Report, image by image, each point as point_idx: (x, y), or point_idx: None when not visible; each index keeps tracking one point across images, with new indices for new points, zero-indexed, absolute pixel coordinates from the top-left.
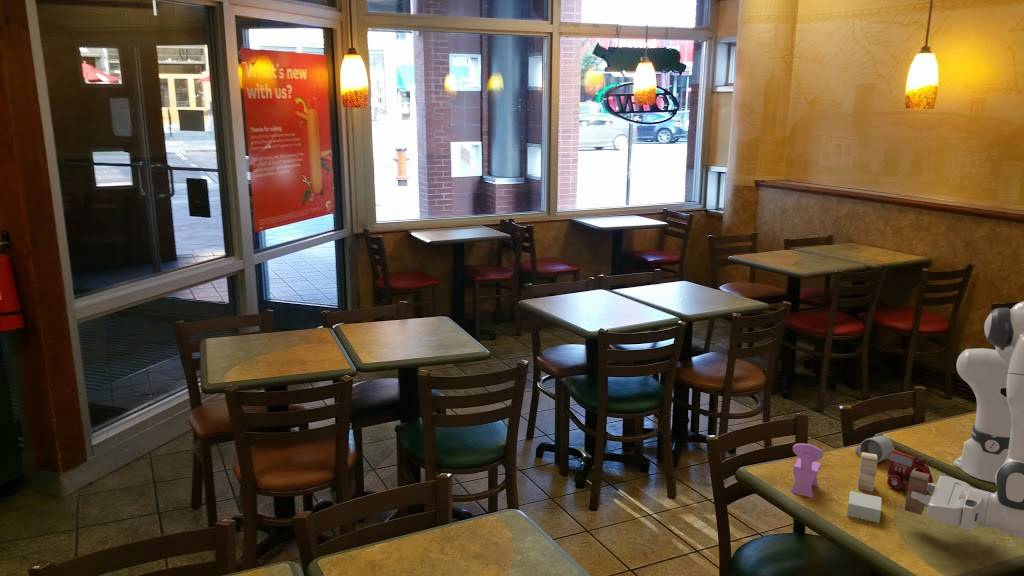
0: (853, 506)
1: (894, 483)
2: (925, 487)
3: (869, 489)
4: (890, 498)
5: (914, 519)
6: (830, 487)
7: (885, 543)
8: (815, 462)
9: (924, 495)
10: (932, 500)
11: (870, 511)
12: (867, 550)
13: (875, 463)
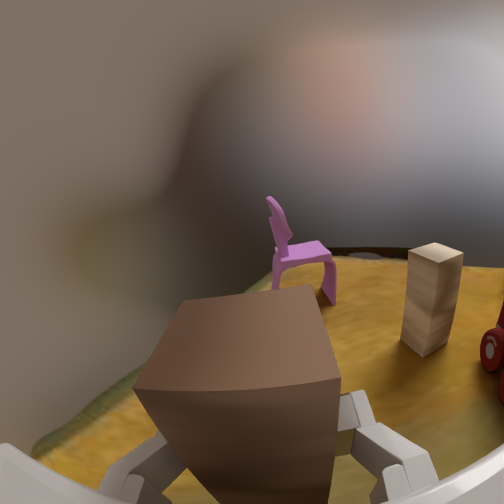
0: None
1: (489, 352)
2: (169, 442)
3: (417, 348)
4: (433, 392)
5: (355, 499)
6: (351, 314)
7: (118, 451)
8: (325, 250)
9: (129, 462)
10: (23, 467)
11: None
12: (80, 416)
13: (433, 274)
